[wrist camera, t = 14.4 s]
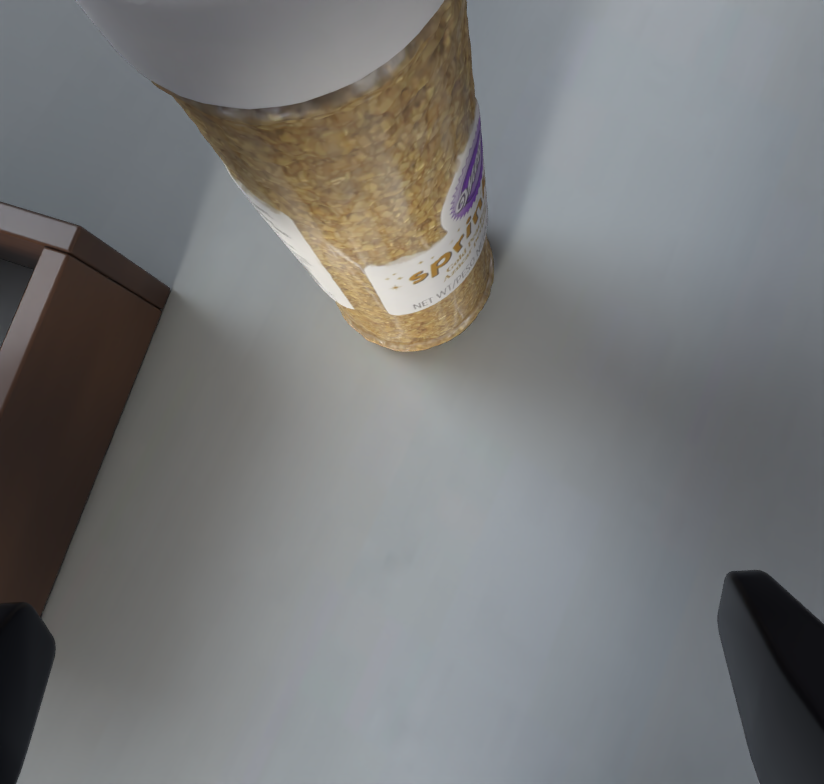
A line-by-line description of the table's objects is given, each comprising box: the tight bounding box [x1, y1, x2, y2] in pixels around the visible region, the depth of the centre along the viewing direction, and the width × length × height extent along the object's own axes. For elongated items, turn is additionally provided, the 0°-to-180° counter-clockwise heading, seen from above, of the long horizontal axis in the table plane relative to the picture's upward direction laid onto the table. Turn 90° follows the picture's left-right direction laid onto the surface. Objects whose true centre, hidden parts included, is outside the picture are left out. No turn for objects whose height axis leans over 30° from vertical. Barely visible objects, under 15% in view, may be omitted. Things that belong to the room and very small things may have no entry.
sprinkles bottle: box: [75, 0, 494, 352], centre depth 13 cm, size 5×5×14 cm
